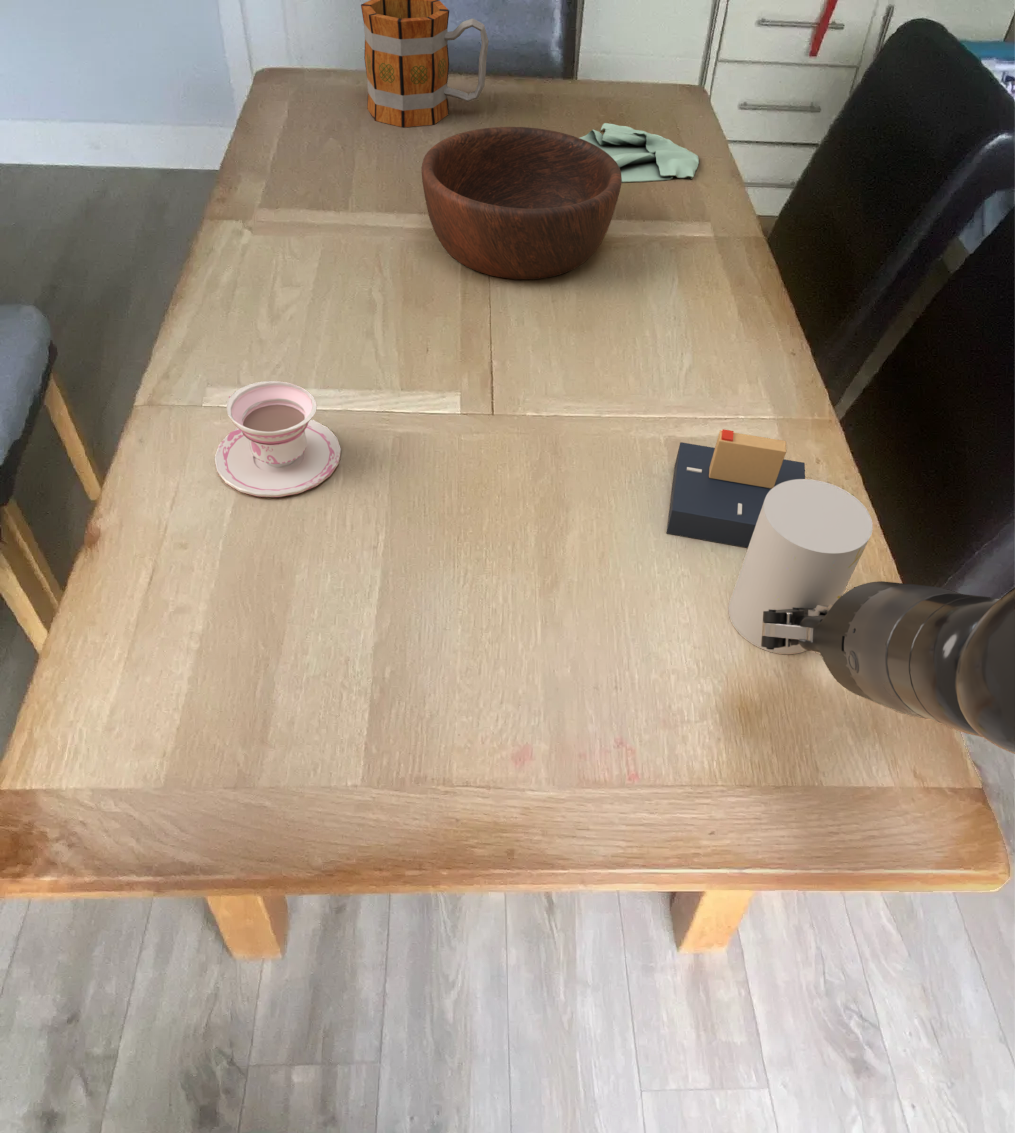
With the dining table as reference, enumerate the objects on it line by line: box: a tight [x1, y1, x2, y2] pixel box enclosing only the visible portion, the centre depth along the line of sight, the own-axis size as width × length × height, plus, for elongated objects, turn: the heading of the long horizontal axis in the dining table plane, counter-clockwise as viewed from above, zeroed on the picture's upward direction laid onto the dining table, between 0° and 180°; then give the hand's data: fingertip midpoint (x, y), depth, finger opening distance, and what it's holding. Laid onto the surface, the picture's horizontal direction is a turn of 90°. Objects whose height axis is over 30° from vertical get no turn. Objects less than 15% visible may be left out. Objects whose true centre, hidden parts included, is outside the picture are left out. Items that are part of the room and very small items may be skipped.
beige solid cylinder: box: [727, 478, 874, 655], centre depth 73 cm, size 8×8×12 cm
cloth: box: [579, 122, 700, 183], centre depth 140 cm, size 20×22×2 cm
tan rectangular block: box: [709, 428, 787, 489], centre depth 83 cm, size 6×2×5 cm, turn 78°
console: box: [665, 441, 806, 549], centre depth 85 cm, size 12×11×3 cm
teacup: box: [214, 380, 342, 498], centre depth 86 cm, size 12×12×6 cm
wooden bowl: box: [421, 126, 623, 280], centre depth 116 cm, size 25×25×10 cm
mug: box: [360, 0, 490, 128], centre depth 143 cm, size 20×14×15 cm
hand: (806, 621), depth 71 cm, fingers closed
